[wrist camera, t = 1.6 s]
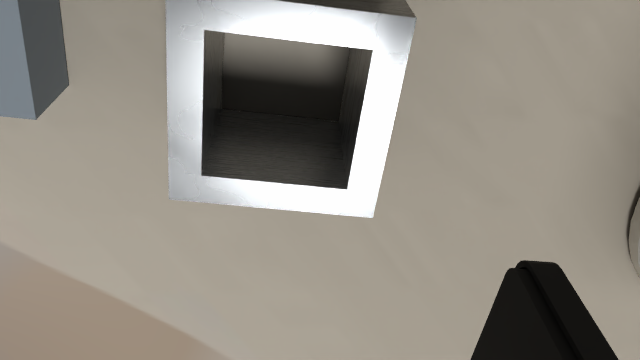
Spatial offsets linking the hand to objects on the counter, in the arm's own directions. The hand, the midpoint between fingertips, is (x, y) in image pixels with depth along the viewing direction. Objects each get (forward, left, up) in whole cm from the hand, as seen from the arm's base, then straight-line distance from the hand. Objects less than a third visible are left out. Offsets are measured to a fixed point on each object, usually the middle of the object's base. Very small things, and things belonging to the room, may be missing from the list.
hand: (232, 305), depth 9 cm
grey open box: (-1, 0, -13) cm, 13 cm away
